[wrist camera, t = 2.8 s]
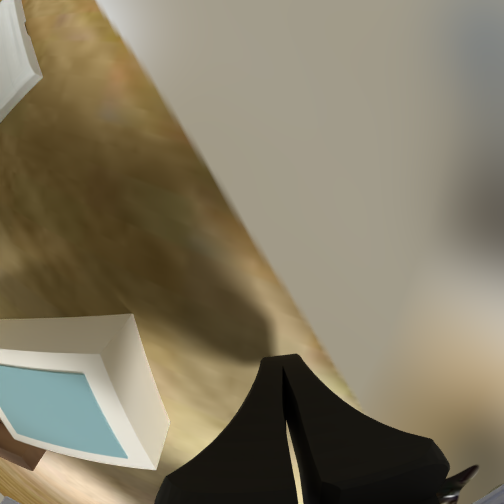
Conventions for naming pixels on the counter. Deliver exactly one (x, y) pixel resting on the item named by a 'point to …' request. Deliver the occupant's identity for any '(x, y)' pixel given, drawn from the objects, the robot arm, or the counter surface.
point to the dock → (18, 450)
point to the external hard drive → (15, 57)
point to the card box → (82, 389)
